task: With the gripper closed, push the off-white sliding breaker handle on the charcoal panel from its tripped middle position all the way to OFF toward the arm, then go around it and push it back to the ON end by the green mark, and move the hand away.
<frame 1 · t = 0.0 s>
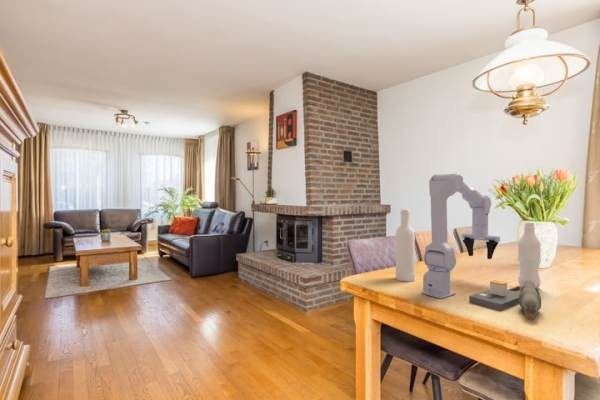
hand: (480, 257, 132), 10 cm above the table, fingers open, 7 cm apart
bottle: (405, 279, 137), on the table
water bottle: (529, 288, 124), on the table
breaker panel: (498, 300, 109), on the table
breaker handle: (498, 288, 109), point 4 cm above the table, slide at 4.0 cm
twin grey rods: (518, 293, 117), on the table
decorative bird: (529, 312, 99), on the table
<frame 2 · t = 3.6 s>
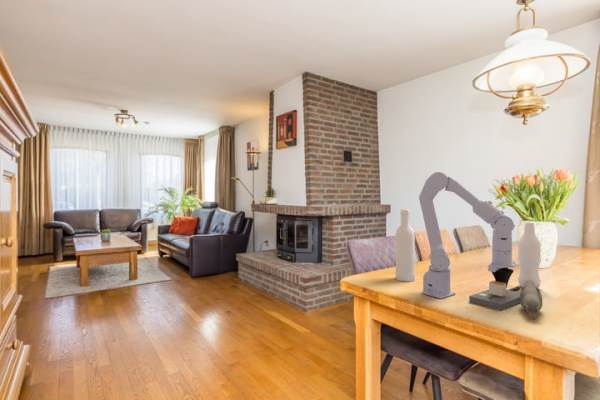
hand: (501, 289, 110), 3 cm above the table, fingers closed
breaker handle: (497, 288, 108), point 4 cm above the table, slide at 3.4 cm, touching gripper
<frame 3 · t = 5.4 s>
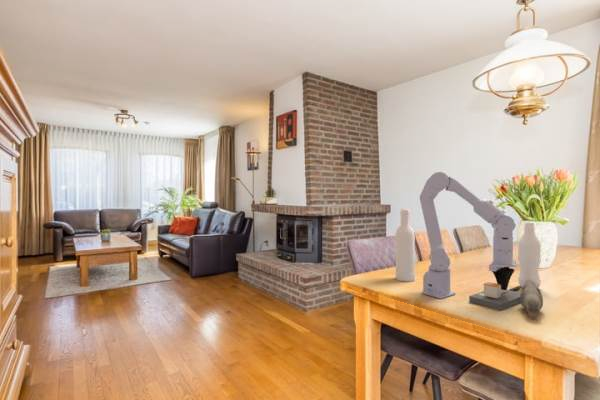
hand: (502, 289, 110), 3 cm above the table, fingers closed
breaker handle: (492, 290, 107), point 4 cm above the table, slide at -0.1 cm
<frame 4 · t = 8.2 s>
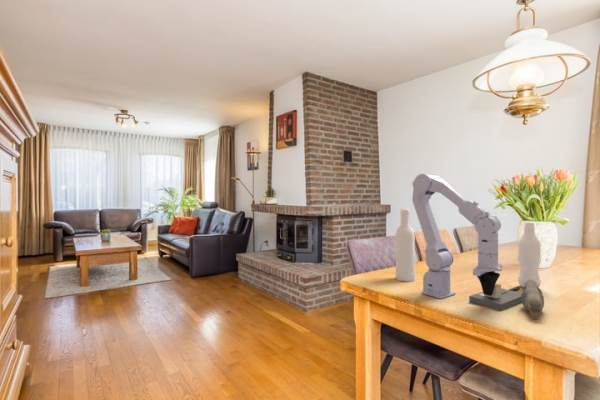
hand: (487, 294, 105), 3 cm above the table, fingers closed
breaker handle: (492, 290, 107), point 4 cm above the table, slide at 0.0 cm, touching gripper
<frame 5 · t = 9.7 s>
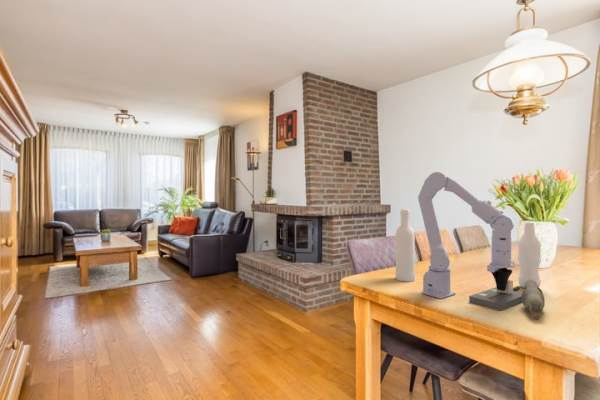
hand: (501, 290, 110), 3 cm above the table, fingers closed
breaker handle: (504, 285, 111), point 4 cm above the table, slide at 8.3 cm, touching gripper
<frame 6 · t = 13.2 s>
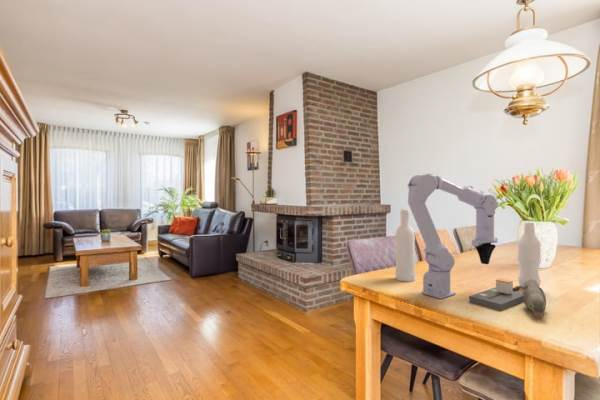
hand: (484, 263, 119), 10 cm above the table, fingers closed
breaker handle: (504, 286, 111), point 4 cm above the table, slide at 8.1 cm
at the end: breaker handle slide at 8.1 cm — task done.
